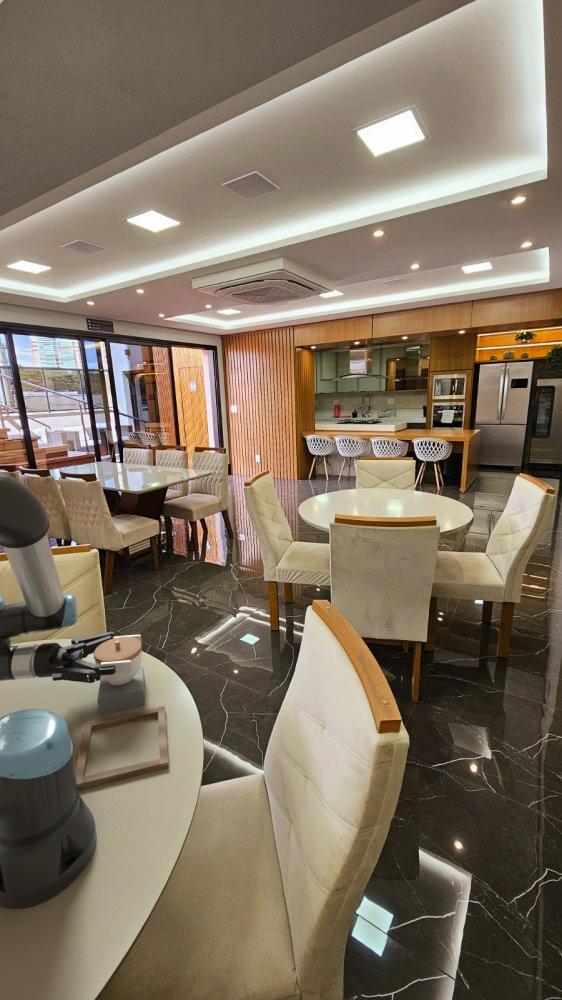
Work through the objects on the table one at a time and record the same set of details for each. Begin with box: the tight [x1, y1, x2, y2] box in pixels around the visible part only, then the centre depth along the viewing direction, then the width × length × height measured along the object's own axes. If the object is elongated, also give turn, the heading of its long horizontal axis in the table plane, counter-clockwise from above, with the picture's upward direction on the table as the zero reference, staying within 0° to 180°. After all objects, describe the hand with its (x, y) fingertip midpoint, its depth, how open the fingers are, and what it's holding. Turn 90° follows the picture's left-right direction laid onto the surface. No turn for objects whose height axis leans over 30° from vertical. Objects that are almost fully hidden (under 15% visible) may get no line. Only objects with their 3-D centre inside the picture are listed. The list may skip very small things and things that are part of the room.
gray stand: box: [97, 666, 146, 715], centre depth 106 cm, size 10×10×4 cm
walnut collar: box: [75, 705, 169, 791], centre depth 90 cm, size 17×17×1 cm
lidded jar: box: [93, 637, 143, 685], centre depth 104 cm, size 11×11×9 cm
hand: (136, 652), depth 104 cm, fingers closed on lidded jar, 11 cm apart
